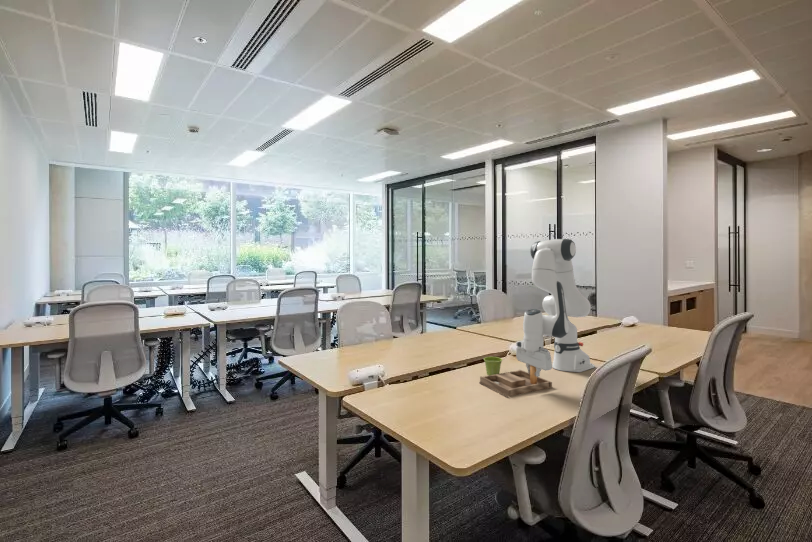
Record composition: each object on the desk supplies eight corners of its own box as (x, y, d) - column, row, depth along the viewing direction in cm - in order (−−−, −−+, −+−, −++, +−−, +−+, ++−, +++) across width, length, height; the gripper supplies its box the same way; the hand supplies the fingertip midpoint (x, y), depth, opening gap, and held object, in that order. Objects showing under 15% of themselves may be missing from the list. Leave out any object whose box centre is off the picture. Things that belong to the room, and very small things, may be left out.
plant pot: (501, 373, 208) (501, 356, 208) (503, 378, 199) (503, 361, 199) (483, 372, 209) (482, 356, 209) (484, 378, 200) (484, 361, 200)
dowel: (534, 381, 186) (533, 364, 186) (538, 383, 183) (538, 366, 183) (528, 382, 185) (528, 365, 185) (533, 384, 182) (533, 367, 182)
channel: (521, 376, 203) (521, 369, 202) (552, 389, 182) (552, 382, 182) (479, 383, 193) (479, 376, 193) (507, 398, 173) (507, 390, 172)
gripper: (555, 349, 175) (555, 380, 176) (524, 340, 194) (524, 368, 194) (544, 350, 173) (544, 382, 173) (513, 341, 191) (514, 370, 192)
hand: (533, 374), depth 184 cm, fingers closed on dowel, 3 cm apart
